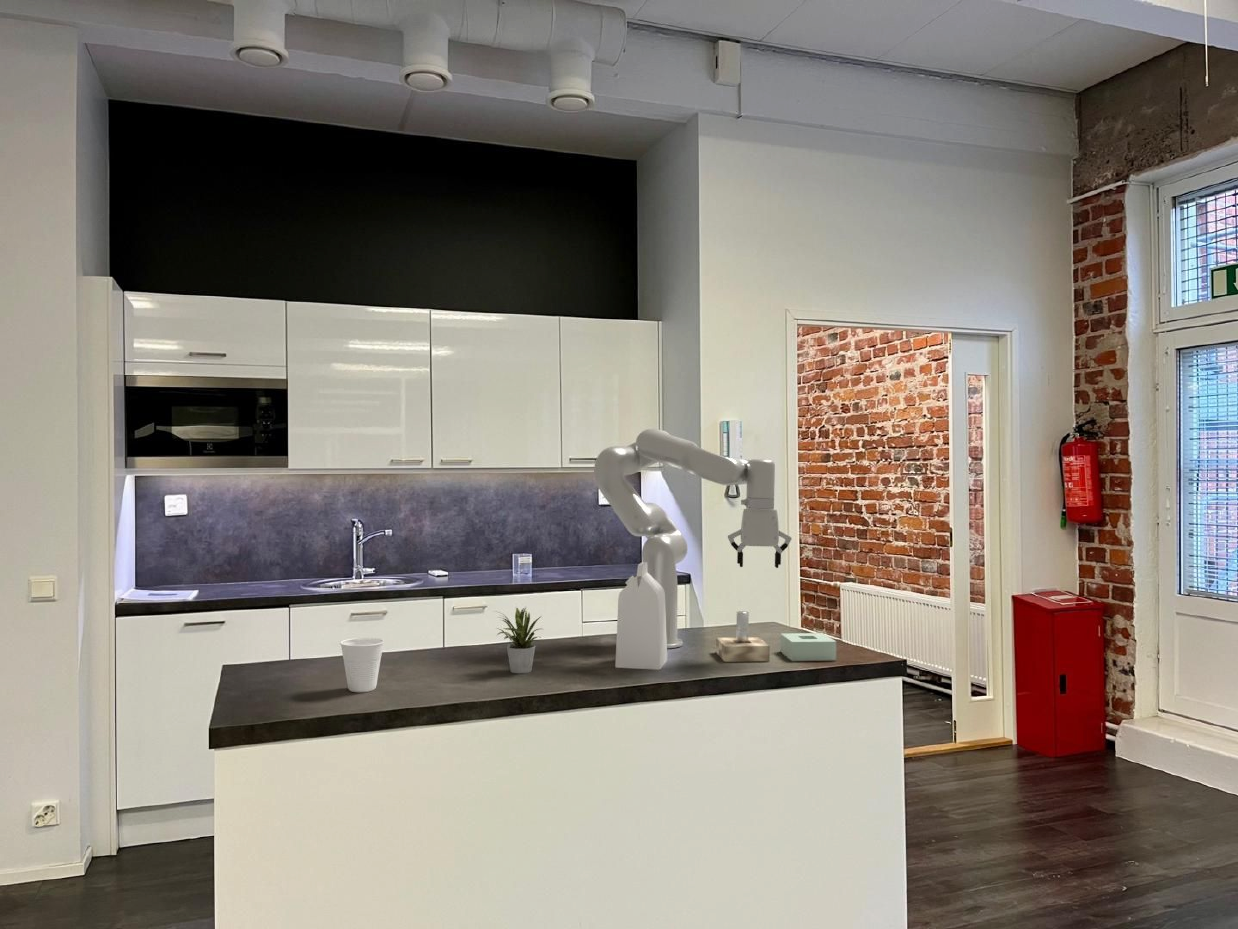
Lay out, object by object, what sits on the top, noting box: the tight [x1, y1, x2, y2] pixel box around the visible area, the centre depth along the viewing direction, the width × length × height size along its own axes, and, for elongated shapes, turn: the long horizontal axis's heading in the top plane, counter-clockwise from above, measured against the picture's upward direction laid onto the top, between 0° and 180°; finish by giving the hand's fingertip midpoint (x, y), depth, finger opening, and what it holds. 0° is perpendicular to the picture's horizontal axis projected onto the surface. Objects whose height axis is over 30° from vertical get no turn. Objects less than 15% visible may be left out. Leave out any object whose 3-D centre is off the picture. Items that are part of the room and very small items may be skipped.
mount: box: [715, 636, 771, 663], centre depth 259 cm, size 12×12×4 cm
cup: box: [339, 637, 386, 693], centre depth 220 cm, size 10×10×11 cm
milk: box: [614, 561, 668, 671], centre depth 249 cm, size 12×12×26 cm
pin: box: [735, 610, 750, 643], centre depth 259 cm, size 3×3×12 cm
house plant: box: [494, 606, 544, 674], centre depth 241 cm, size 14×14×16 cm
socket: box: [779, 632, 837, 662], centre depth 260 cm, size 12×12×5 cm
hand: (758, 567), depth 263 cm, fingers open, 9 cm apart
